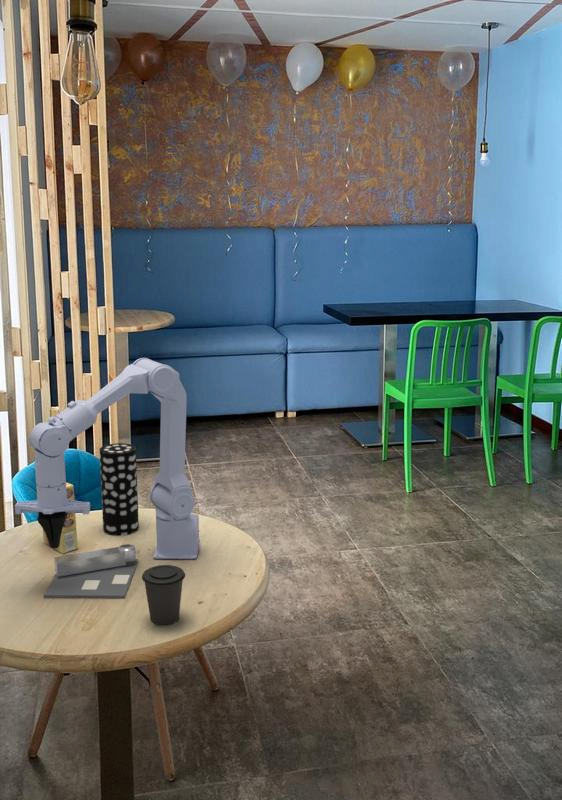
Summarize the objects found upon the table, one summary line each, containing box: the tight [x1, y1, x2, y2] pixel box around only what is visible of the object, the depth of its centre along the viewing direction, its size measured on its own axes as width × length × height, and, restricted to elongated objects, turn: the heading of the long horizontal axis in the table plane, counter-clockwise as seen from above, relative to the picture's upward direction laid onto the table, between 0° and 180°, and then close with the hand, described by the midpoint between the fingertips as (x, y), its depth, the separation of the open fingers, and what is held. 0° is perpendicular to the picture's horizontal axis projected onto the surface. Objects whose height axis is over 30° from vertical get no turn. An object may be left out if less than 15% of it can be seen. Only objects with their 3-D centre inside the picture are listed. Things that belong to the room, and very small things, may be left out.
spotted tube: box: [99, 442, 140, 537], centre depth 200 cm, size 8×8×20 cm
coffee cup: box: [141, 564, 186, 627], centre depth 160 cm, size 8×8×10 cm
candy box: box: [42, 481, 79, 554], centre depth 191 cm, size 9×4×15 cm, turn 44°
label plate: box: [43, 558, 139, 599], centre depth 177 cm, size 16×17×1 cm
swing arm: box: [53, 543, 137, 577], centre depth 180 cm, size 17×4×3 cm, turn 114°
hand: (55, 546), depth 173 cm, fingers closed
